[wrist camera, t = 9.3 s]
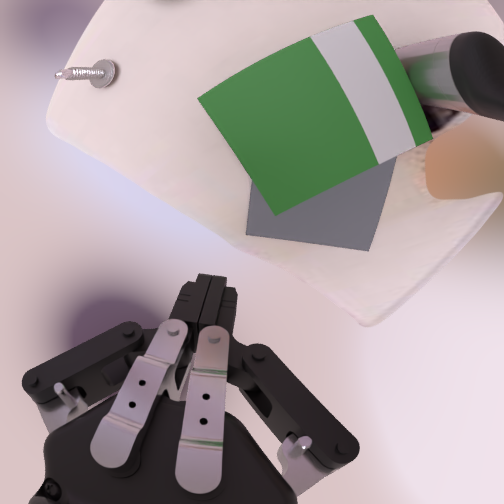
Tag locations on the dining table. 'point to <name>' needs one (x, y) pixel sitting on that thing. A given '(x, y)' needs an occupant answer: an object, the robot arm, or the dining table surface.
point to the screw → (90, 73)
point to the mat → (328, 212)
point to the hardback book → (318, 112)
